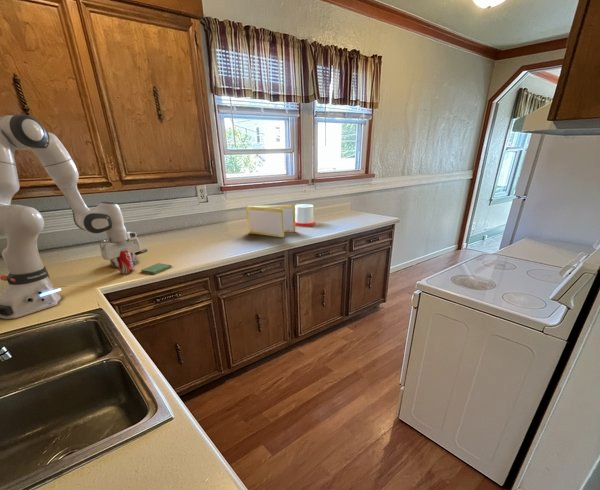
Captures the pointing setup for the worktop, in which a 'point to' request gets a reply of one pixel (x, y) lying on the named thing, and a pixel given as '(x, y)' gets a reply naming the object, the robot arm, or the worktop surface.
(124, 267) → the soda can
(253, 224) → the white yellow panel stand
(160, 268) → the green flat block
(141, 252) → the pan handle
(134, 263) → the pan
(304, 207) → the container
